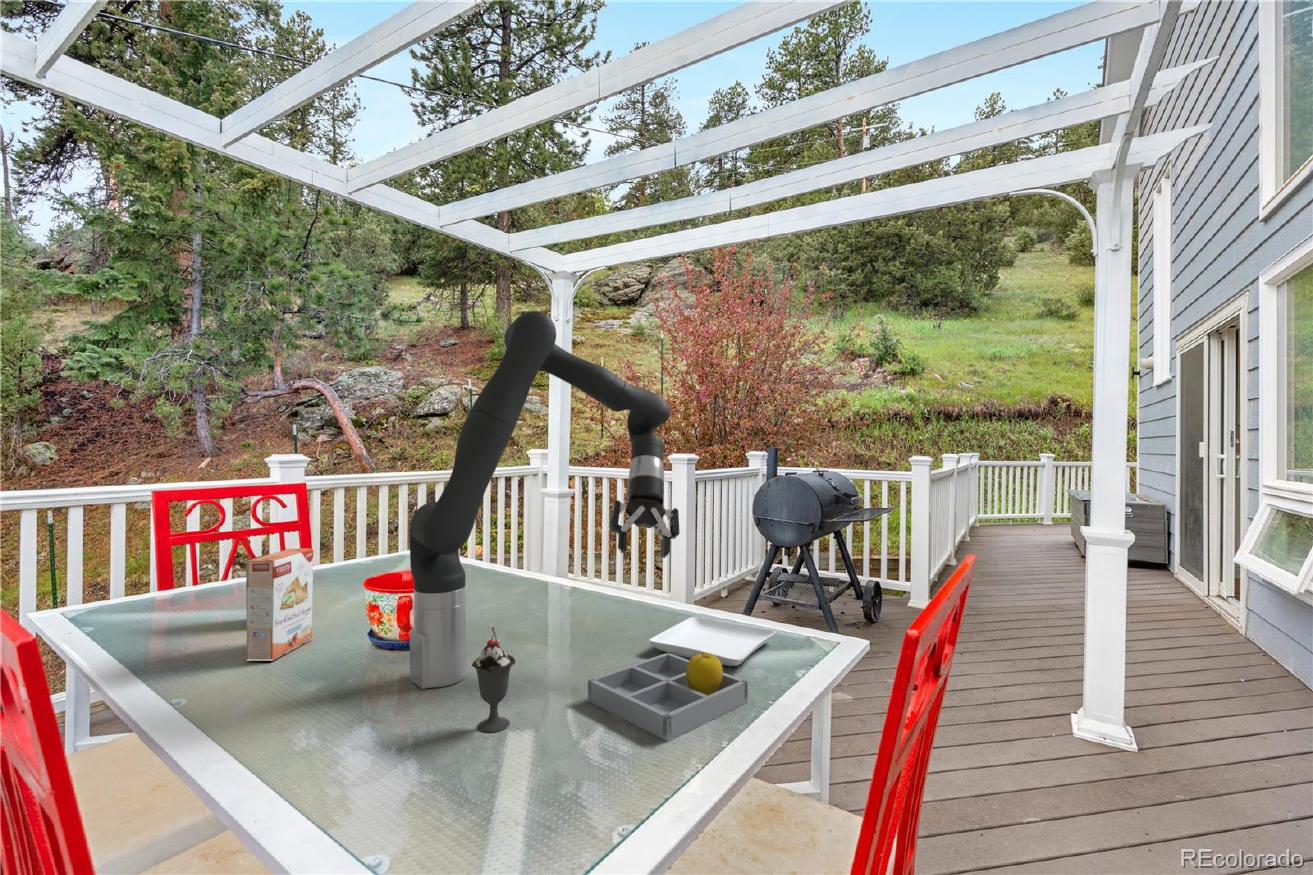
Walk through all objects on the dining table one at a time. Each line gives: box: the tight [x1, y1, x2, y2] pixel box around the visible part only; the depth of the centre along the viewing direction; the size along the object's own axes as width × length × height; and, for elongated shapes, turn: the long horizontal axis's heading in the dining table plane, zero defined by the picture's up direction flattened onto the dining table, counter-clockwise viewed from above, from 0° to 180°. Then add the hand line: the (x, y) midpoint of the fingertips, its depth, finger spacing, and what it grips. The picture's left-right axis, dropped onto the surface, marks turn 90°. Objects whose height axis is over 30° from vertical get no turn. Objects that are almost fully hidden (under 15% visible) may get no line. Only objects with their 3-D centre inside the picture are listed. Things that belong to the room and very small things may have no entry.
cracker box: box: [246, 548, 314, 660], centre depth 130 cm, size 14×6×21 cm, turn 179°
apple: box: [686, 653, 724, 696], centre depth 105 cm, size 6×6×8 cm
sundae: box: [471, 626, 516, 734], centre depth 97 cm, size 7×7×15 cm
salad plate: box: [648, 616, 776, 667], centre depth 132 cm, size 21×21×3 cm
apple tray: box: [587, 652, 749, 742], centre depth 105 cm, size 20×20×4 cm
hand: (644, 554), depth 123 cm, fingers open, 8 cm apart
